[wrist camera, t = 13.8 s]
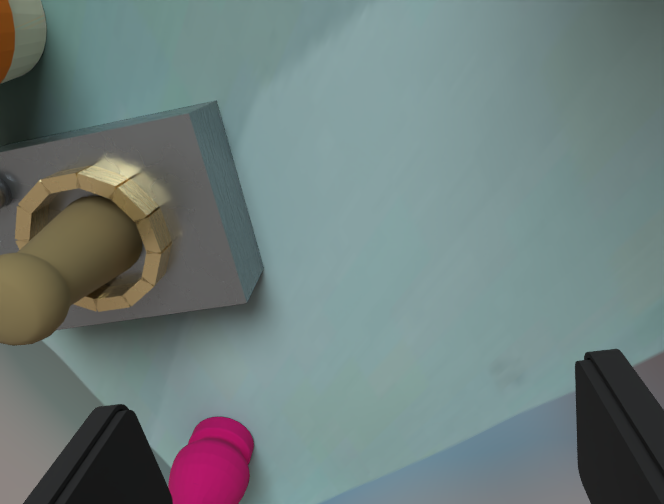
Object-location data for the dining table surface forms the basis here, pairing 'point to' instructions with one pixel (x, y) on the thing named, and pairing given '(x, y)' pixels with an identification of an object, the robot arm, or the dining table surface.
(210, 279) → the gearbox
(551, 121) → the dining table surface
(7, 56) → the reusable coffee cup
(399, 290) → the dining table surface
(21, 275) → the cork
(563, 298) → the dining table surface
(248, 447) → the pepper mill
